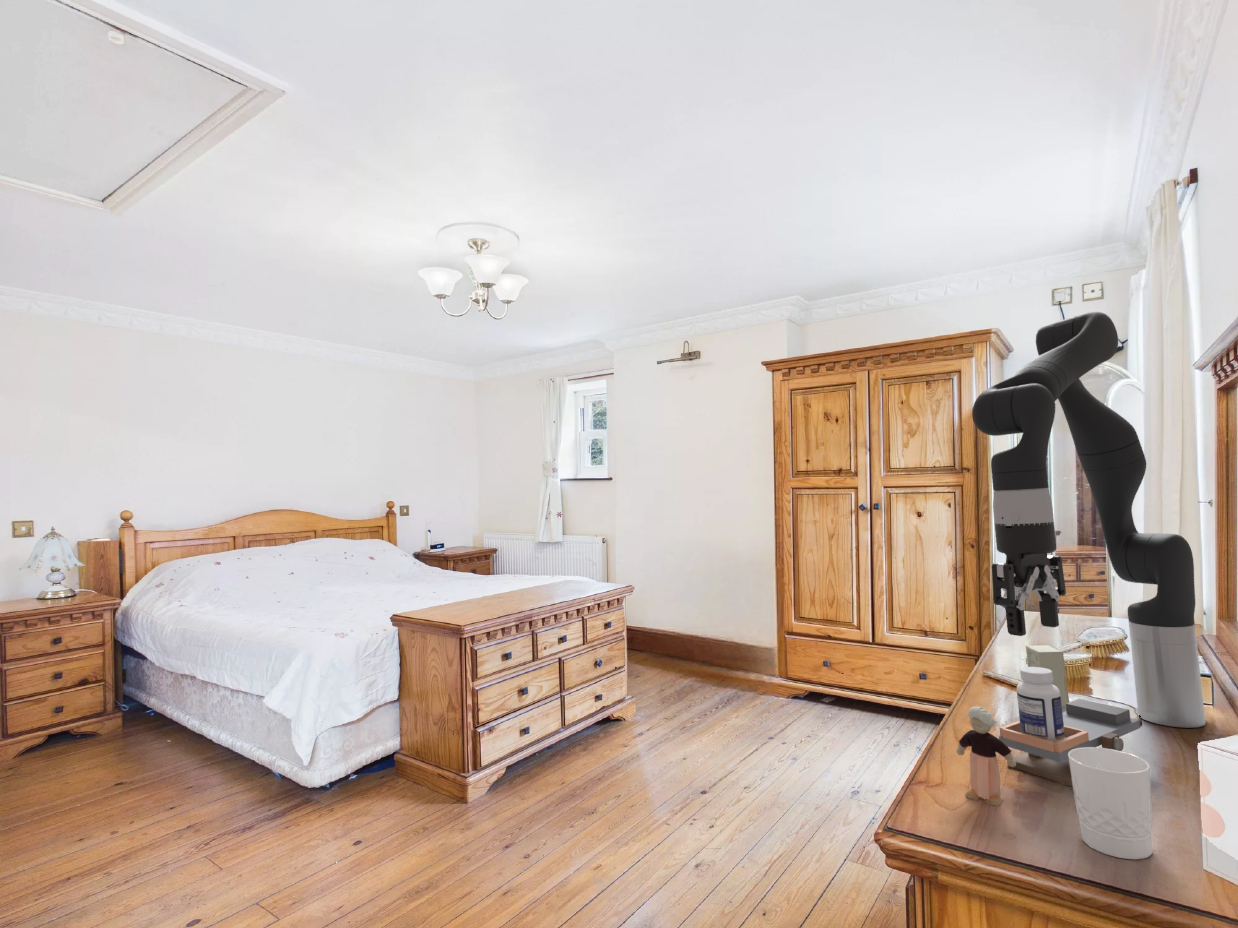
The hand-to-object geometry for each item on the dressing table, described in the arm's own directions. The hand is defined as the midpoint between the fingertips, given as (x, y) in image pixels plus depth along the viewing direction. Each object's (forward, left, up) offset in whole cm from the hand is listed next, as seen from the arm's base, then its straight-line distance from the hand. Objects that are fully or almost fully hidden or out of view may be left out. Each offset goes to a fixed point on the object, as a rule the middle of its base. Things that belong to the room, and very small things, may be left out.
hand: (1033, 630), depth 95 cm
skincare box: (-31, -16, -22) cm, 41 cm away
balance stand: (-7, 0, -22) cm, 23 cm away
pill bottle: (0, 0, -16) cm, 16 cm away
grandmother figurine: (+11, -2, -22) cm, 25 cm away
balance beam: (-7, 0, -16) cm, 17 cm away
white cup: (+10, +13, -22) cm, 28 cm away
